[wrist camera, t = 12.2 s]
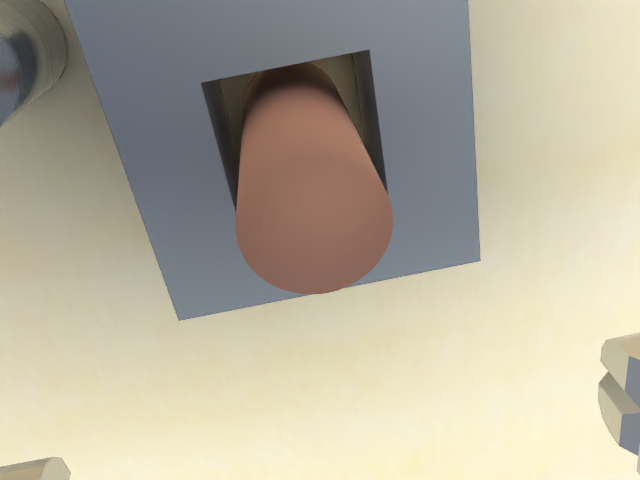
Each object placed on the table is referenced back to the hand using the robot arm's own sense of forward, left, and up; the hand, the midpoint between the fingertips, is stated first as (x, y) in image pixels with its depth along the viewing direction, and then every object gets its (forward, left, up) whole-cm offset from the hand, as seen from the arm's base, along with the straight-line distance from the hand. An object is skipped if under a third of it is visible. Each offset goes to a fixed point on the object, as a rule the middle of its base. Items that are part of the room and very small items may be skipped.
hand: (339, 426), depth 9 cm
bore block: (0, 0, -18) cm, 18 cm away
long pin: (0, 0, -18) cm, 18 cm away
